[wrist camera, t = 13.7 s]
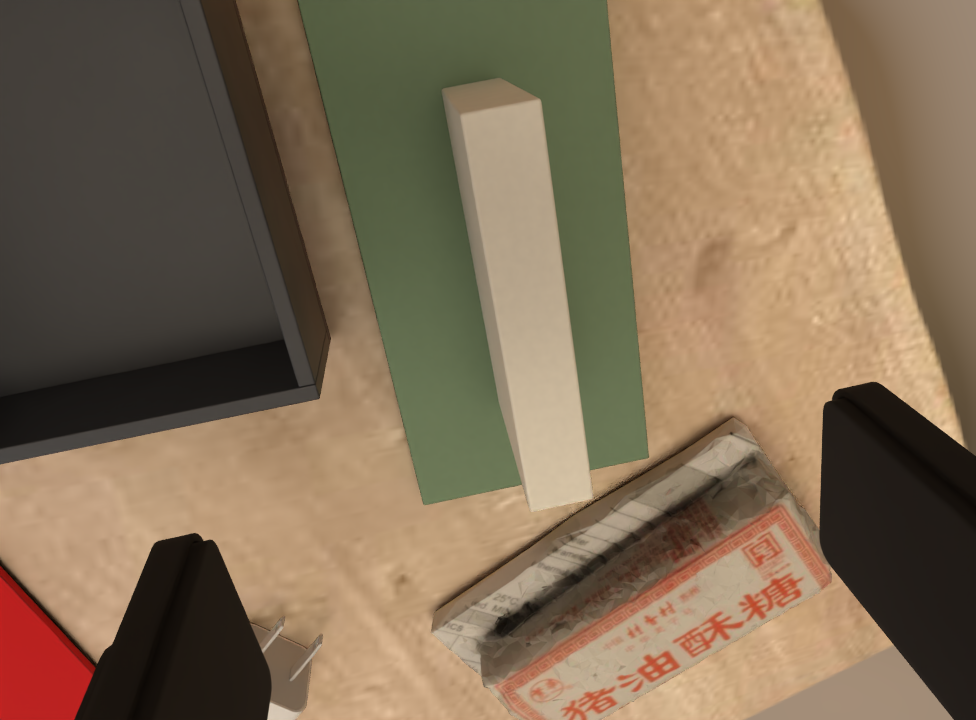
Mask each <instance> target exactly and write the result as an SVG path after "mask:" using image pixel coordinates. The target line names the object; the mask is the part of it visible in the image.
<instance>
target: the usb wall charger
mask: <svg viewBox="0 0 976 720" xmlns="http://www.w3.org/2000/svg"><path fill="white" fill-rule="evenodd" d="M284 621H285V617H284V616H283V617H282V618H281V619H280V620H279V621H278V622H277V624H276V625H275V626H274V627H273V628H272V629H271V631H268V630H266V629H264V628H262V627H260V626H258V625H255V624H252V623H250V624H251V626H252V629H253V631H254V633H255V636H256V638H257V640H258V643H259V645H260V647H261V650H262V652H263V654H264V657H265V659H266V661H267V664H268V666H269V669H270V674H271V681H272V691H271V699H270V706H269V712H268V719H267V720H295V719H296V718H297V717H298V716H299V715H300V714H301V713H302V711H303V710H304V709H305V708H306V705H307V698H308V690H309V682H310V674H311V666H312V657H313V656H314V655H315V653H316V652H317V651H318V650H319V648H320V647H321V646H322V639H323V634H321V635H319V637H318V638H317V639H316V640H315V641H314V642H313V643H312V644H311V645H310V646H309V648H308V649H306V648H304V647H303V646H301V645H299V644H297V643H295V642H293V641H290V640H288V639H286V638H284V637H282V636H279V635H278V634H279V633H280V631H281V630H282V629H283V626H284ZM317 643H318V644H317ZM316 645H317V646H316Z"/></svg>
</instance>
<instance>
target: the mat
mask: <svg viewBox="0 0 976 720" xmlns="http://www.w3.org/2000/svg"><path fill="white" fill-rule="evenodd" d="M297 1H298V5H299V9H300V13H301V17H302V21H303V25H304V29H305V33H306V37H307V41H308V45H309V49H310V53H311V57H312V61H313V65H314V69H315V73H316V77H317V81H318V85H319V89H320V93H321V97H322V101H323V105H324V109H325V113H326V117H327V121H328V125H329V129H330V133H331V137H332V141H333V145H334V149H335V153H336V157H337V161H338V165H339V169H340V173H341V177H342V181H343V185H344V189H345V193H346V197H347V201H348V205H349V209H350V213H351V217H352V221H353V225H354V229H355V233H356V237H357V241H358V245H359V249H360V253H361V257H362V261H363V265H364V269H365V273H366V277H367V281H368V285H369V289H370V293H371V297H372V301H373V305H374V309H375V313H376V317H377V321H378V325H379V329H380V333H381V337H382V341H383V345H384V349H385V353H386V357H387V361H388V365H389V369H390V373H391V377H392V381H393V385H394V389H395V393H396V397H397V401H398V405H399V409H400V413H401V417H402V421H403V425H404V429H405V433H406V437H407V441H408V445H409V449H410V453H411V457H412V461H413V465H414V469H415V473H416V477H417V481H418V485H419V489H420V493H421V497H422V501H423V504H424V505H428V504H433V503H437V502H442V501H447V500H452V499H456V498H461V497H466V496H471V495H475V494H480V493H485V492H490V491H494V490H499V489H504V488H508V487H513V486H518V485H522V482H521V478H520V475H519V471H518V468H517V464H516V461H515V457H514V454H513V450H512V447H511V443H510V440H509V436H508V433H507V429H506V426H505V422H504V419H503V415H502V412H501V408H500V405H499V400H498V395H497V389H496V384H495V378H494V373H493V368H492V362H491V357H490V351H489V346H488V341H487V335H486V330H485V324H484V319H483V314H482V308H481V303H480V297H479V292H478V286H477V281H476V276H475V270H474V265H473V259H472V254H471V249H470V243H469V238H468V232H467V227H466V221H465V216H464V211H463V205H462V200H461V194H460V189H459V184H458V178H457V173H456V167H455V162H454V157H453V151H452V146H451V140H450V135H449V129H448V124H447V119H446V113H445V108H444V102H443V97H442V92H441V91H442V89H443V88H448V87H453V86H458V85H463V84H469V83H474V82H479V81H484V80H490V79H495V78H501V79H503V80H505V81H507V82H509V83H511V84H513V85H515V86H516V87H518V88H520V89H522V90H524V91H526V92H528V93H530V94H531V95H533V96H535V97H537V98H539V99H540V100H541V103H542V110H543V118H544V126H545V133H546V141H547V148H548V156H549V164H550V171H551V179H552V186H553V194H554V201H555V209H556V217H557V224H558V232H559V239H560V247H561V254H562V262H563V270H564V277H565V285H566V292H567V300H568V308H569V315H570V323H571V330H572V338H573V345H574V353H575V361H576V368H577V376H578V383H579V391H580V398H581V406H582V414H583V421H584V429H585V436H586V444H587V452H588V459H589V467H590V470H594V469H598V468H603V467H608V466H613V465H617V464H622V463H627V462H632V461H636V460H641V459H646V458H649V454H648V443H647V433H646V422H645V411H644V400H643V389H642V378H641V367H640V357H639V346H638V335H637V324H636V313H635V302H634V291H633V280H632V270H631V259H630V248H629V237H628V226H627V215H626V204H625V194H624V183H623V172H622V161H621V150H620V139H619V128H618V118H617V107H616V96H615V85H614V74H613V63H612V52H611V41H610V31H609V20H608V9H607V0H297Z"/></svg>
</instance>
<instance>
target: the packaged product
mask: <svg viewBox="0 0 976 720" xmlns="http://www.w3.org/2000/svg"><path fill="white" fill-rule="evenodd" d="M830 567H831V566H830V565H829V563H828V562H827V560H826V559H825V557H824V555H823V552H822V549H821V546H820V539H819V529H818V528H817V526H816V525H815V523H814V522H813V520H812V519H811V517H810V516H809V514H808V513H807V511H806V510H805V509H804V508H802V507H801V506H800V505H799V504H798V502H797V501H796V499H795V498H794V496H793V495H792V493H791V492H790V491H789V489H788V488H787V486H786V485H785V483H784V482H783V480H782V479H781V477H780V476H779V474H778V473H777V471H776V470H775V469H774V467H773V466H772V464H771V463H770V461H769V459H768V458H767V456H766V455H765V453H764V452H763V450H762V449H761V447H760V446H759V444H758V443H757V441H756V439H755V438H754V436H753V435H752V433H751V432H750V430H749V429H748V427H747V426H746V425H745V424H743V423H742V422H740V421H738V420H737V419H735V418H734V417H733V418H731V419H730V420H728V421H727V422H725V423H724V424H723V425H721V426H720V427H718V428H717V429H715V430H714V431H712V432H711V433H709V434H708V435H706V436H705V437H703V438H702V439H700V440H699V441H697V442H696V443H694V444H693V445H691V446H690V447H688V448H687V449H685V450H684V451H682V452H680V453H679V454H677V455H675V456H674V457H672V458H670V459H669V460H667V461H665V462H664V463H662V464H660V465H659V466H657V467H655V468H654V469H652V470H650V471H649V472H647V473H645V474H644V475H642V476H640V477H638V478H637V479H635V480H633V481H632V482H630V483H628V484H627V485H625V486H623V487H622V488H620V489H618V490H617V491H615V492H613V493H611V494H610V495H608V496H606V497H604V498H603V499H601V500H599V501H597V502H596V503H594V504H592V505H591V506H589V507H587V508H585V509H584V510H582V511H580V512H578V513H577V514H575V515H573V516H572V517H571V518H569V519H568V520H567V521H565V522H564V523H563V524H561V525H560V526H559V527H557V528H556V529H555V530H553V531H552V532H551V533H549V534H548V535H547V536H545V537H544V538H542V539H541V540H540V541H538V542H537V543H536V544H534V545H533V546H532V547H530V548H529V549H527V550H526V551H524V552H523V553H521V554H520V555H518V556H517V557H515V558H514V559H513V560H511V561H510V562H508V563H507V564H505V565H504V566H502V567H501V568H499V569H498V570H496V571H495V572H493V573H492V574H490V575H489V576H487V577H486V578H484V579H483V580H481V581H480V582H479V583H477V584H476V585H474V586H473V587H471V588H470V589H468V590H467V591H465V592H464V593H462V594H461V595H459V596H458V597H456V598H455V599H453V600H452V601H450V602H449V603H448V604H446V605H445V606H443V607H442V608H440V609H439V610H437V611H436V612H434V617H433V623H432V629H431V633H432V634H433V635H434V636H435V637H436V638H438V639H439V640H440V641H441V642H442V643H443V644H444V645H445V646H446V647H447V648H448V649H449V650H451V651H452V652H453V653H455V654H456V655H457V656H458V657H459V658H460V659H461V660H462V661H463V662H464V663H465V664H467V665H468V666H469V667H470V668H472V669H473V670H474V671H475V672H477V673H478V674H479V675H480V676H481V677H482V681H483V685H484V687H486V688H489V689H490V691H491V692H492V694H493V695H494V696H495V697H496V698H497V699H498V700H499V701H500V702H501V703H502V704H503V705H504V706H505V707H506V709H507V710H508V712H509V714H510V715H512V716H514V717H516V718H517V719H519V720H602V719H604V718H605V717H607V716H609V715H611V714H612V713H614V712H615V711H617V710H619V709H620V708H622V707H624V706H625V705H627V704H629V703H630V702H634V701H635V700H636V699H637V698H639V697H640V696H642V695H644V694H646V693H648V692H650V691H651V690H653V689H655V688H656V687H658V686H660V685H661V684H663V683H665V682H667V681H668V680H670V679H671V678H673V677H675V676H677V675H678V674H680V673H682V672H683V671H685V670H687V669H689V668H691V667H693V666H694V665H696V664H698V663H699V662H701V661H702V660H704V659H705V658H707V657H708V656H710V655H711V654H713V653H716V652H718V651H720V650H722V649H723V648H725V647H726V646H728V645H729V644H731V643H733V642H735V641H737V640H738V639H740V638H741V637H743V636H746V635H747V634H749V633H750V632H752V631H753V630H755V629H756V628H758V627H760V626H761V625H763V624H765V623H767V622H768V621H770V620H772V619H773V618H775V617H777V616H780V615H782V614H783V613H785V612H786V611H787V610H788V609H791V608H793V607H795V606H797V605H798V604H799V603H801V602H803V601H805V600H807V599H810V598H812V597H813V596H814V595H815V594H818V593H820V592H821V591H822V590H823V589H824V588H825V587H826V586H827V585H829V584H830V583H831V576H832V574H831V572H830Z"/></svg>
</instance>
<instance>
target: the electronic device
mask: <svg viewBox="0 0 976 720" xmlns="http://www.w3.org/2000/svg"><path fill="white" fill-rule="evenodd" d="M95 669H96V667H95V666H94V665H93V664H92V663H91V662H90V661H89V660H88V659H87V658H86V657H85V656H84V655H83V654H82V652H81V651H80V650H79V649H78V648H77V647H76V646H75V645H74V644H73V643H72V642H71V641H70V640H69V639H68V638H67V636H66V635H65V634H64V633H63V632H62V631H61V630H60V629H59V628H58V627H57V626H56V625H55V624H54V623H53V621H52V620H51V619H50V618H49V617H48V616H47V615H46V614H45V613H44V612H43V611H42V610H41V609H40V608H39V607H38V605H37V604H36V603H35V602H34V601H33V600H32V599H31V598H30V597H29V596H28V595H27V594H26V593H25V592H24V590H23V589H22V588H21V587H20V586H19V585H18V584H17V583H16V582H15V581H14V580H13V579H12V578H11V577H10V575H9V574H8V573H7V572H6V571H5V570H4V569H3V568H2V567H1V566H0V720H74V719H75V717H76V714H77V712H78V709H79V707H80V705H81V702H82V700H83V697H84V695H85V693H86V690H87V688H88V686H89V683H90V681H91V678H92V676H93V674H94V671H95Z"/></svg>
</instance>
